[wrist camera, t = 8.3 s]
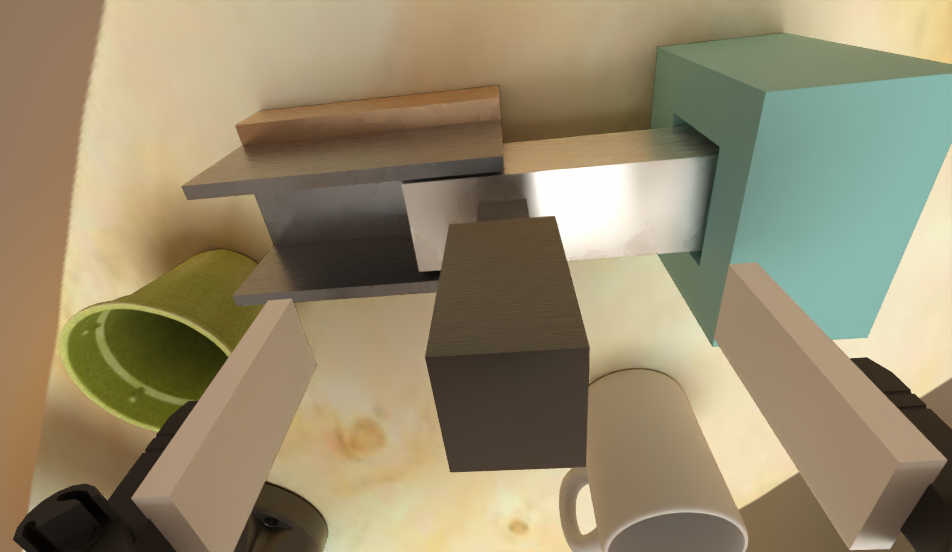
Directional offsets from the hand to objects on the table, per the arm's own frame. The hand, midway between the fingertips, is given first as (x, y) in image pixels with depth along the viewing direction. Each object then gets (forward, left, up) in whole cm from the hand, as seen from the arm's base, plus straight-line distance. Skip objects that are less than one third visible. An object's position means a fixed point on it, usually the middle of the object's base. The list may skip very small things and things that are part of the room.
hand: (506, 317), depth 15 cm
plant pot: (-19, -7, -15) cm, 25 cm away
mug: (+7, -22, -15) cm, 27 cm away
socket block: (+11, 0, -15) cm, 18 cm away
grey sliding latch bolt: (+4, 0, -11) cm, 11 cm away
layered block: (-6, 0, -15) cm, 16 cm away
